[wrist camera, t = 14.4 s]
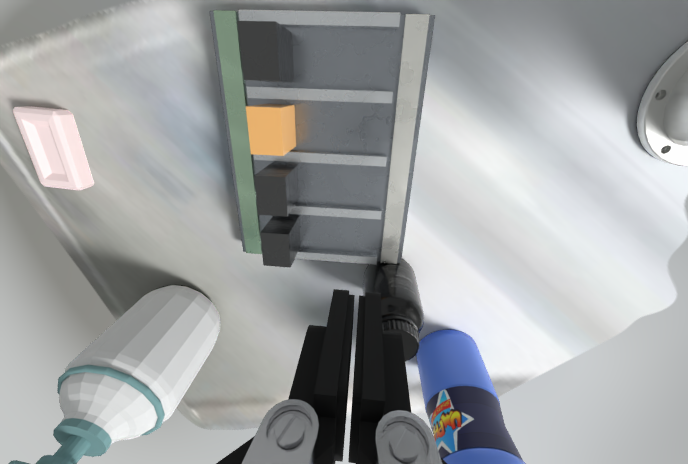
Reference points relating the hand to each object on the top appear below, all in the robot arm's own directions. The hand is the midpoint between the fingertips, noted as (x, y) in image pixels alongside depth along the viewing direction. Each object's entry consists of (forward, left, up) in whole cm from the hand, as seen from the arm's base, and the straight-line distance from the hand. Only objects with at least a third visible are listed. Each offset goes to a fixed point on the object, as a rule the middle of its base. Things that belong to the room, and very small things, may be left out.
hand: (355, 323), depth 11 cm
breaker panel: (+5, -1, -25) cm, 26 cm away
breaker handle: (+9, -4, -23) cm, 25 cm away
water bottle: (-14, +28, -25) cm, 40 cm away
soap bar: (+37, 0, -26) cm, 45 cm away
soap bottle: (+26, +24, -25) cm, 43 cm away
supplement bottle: (-4, +15, -25) cm, 30 cm away
